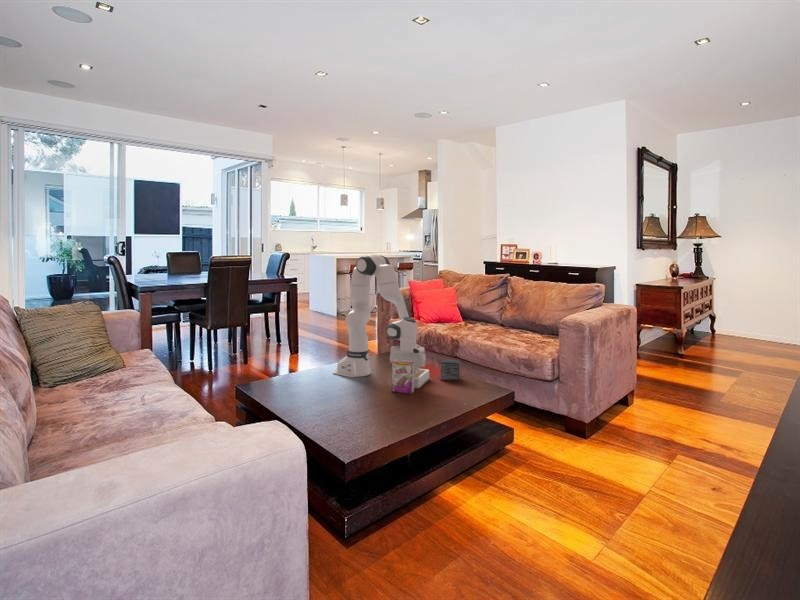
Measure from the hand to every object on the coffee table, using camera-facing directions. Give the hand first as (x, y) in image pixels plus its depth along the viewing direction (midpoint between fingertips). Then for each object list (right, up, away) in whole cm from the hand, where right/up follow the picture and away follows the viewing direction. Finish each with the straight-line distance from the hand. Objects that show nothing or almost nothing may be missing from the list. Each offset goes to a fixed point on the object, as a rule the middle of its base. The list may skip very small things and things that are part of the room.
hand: (407, 372), depth 247 cm
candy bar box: (-2, -9, -11) cm, 14 cm away
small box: (+25, -6, +11) cm, 28 cm away
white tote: (+3, -6, +5) cm, 9 cm away
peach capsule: (+4, -5, +9) cm, 11 cm away
